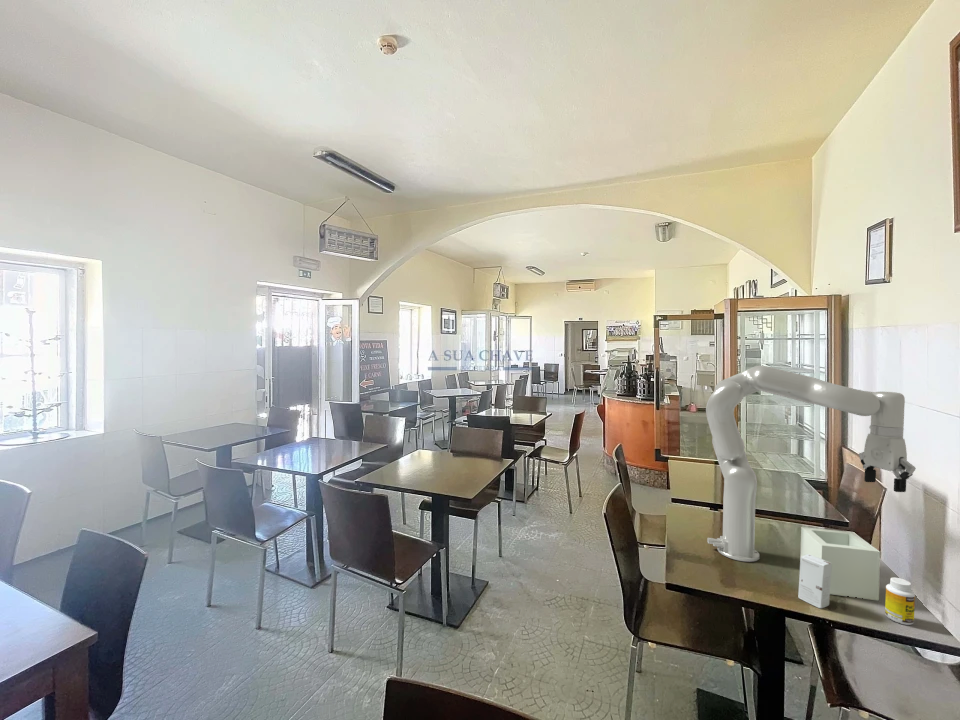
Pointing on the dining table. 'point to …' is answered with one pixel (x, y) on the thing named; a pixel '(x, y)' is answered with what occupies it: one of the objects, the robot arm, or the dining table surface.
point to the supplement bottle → (900, 601)
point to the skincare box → (814, 580)
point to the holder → (845, 561)
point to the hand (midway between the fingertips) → (884, 486)
